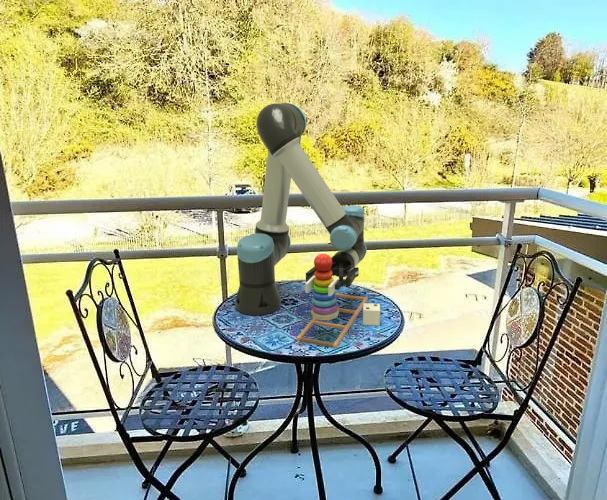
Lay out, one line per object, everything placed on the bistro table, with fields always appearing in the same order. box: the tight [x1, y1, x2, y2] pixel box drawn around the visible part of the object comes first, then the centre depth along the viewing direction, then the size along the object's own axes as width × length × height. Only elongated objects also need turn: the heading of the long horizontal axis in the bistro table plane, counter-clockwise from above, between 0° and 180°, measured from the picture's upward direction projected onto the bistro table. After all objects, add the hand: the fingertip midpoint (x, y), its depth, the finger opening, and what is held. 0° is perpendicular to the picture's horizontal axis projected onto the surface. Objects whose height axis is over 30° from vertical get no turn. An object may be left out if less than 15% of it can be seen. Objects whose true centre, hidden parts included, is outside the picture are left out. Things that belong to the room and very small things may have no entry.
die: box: [362, 302, 381, 326], centre depth 141 cm, size 5×5×5 cm
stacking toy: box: [310, 253, 340, 321], centre depth 129 cm, size 8×8×19 cm
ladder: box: [295, 292, 369, 349], centre depth 143 cm, size 12×34×1 cm, turn 158°
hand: (317, 289), depth 124 cm, fingers closed on stacking toy, 6 cm apart
